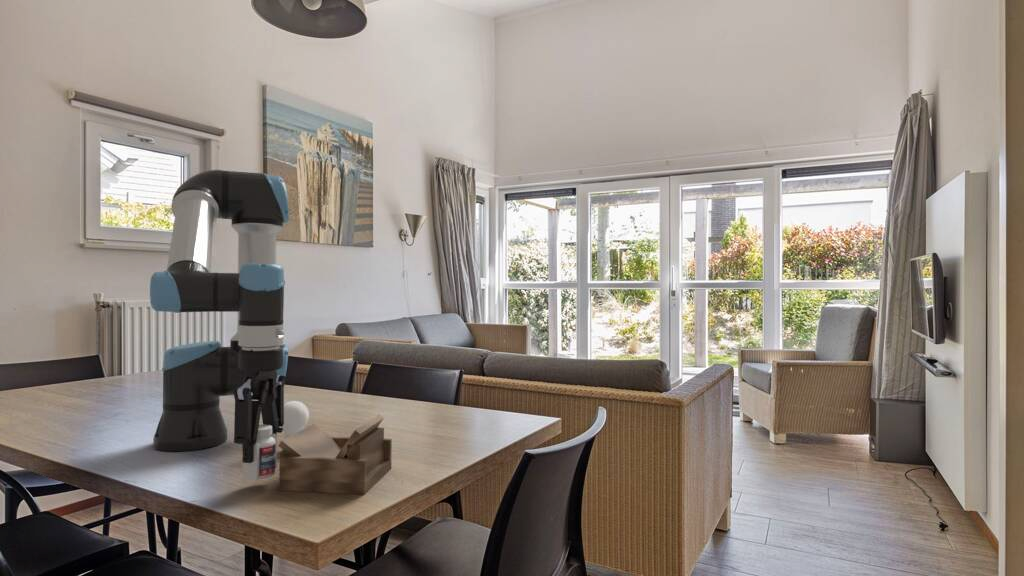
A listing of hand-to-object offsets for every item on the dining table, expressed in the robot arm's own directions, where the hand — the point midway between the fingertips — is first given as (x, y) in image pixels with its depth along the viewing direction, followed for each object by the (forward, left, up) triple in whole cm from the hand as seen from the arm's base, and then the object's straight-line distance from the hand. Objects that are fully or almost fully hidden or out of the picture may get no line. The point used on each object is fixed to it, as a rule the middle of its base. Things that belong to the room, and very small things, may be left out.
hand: (259, 473), depth 106 cm
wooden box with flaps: (+12, +6, -2) cm, 14 cm away
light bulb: (-6, +23, -3) cm, 24 cm away
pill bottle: (0, 0, -1) cm, 1 cm away
